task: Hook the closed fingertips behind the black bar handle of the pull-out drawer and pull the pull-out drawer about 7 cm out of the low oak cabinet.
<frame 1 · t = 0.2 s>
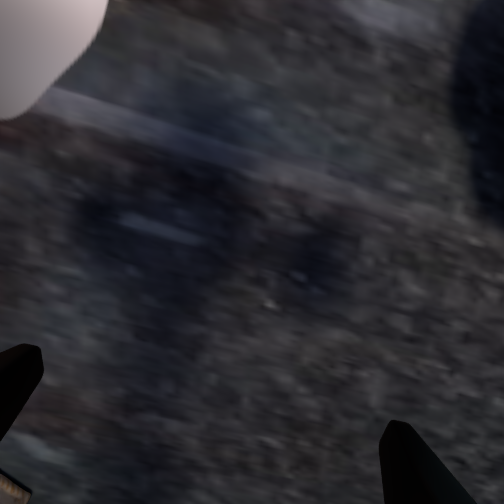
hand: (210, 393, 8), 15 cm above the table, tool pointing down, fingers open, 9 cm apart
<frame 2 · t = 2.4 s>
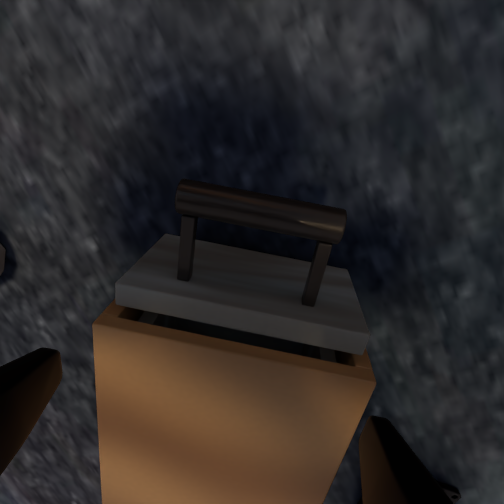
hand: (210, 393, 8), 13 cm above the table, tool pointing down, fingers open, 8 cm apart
pull-out drawer: (237, 340, 19), point 4 cm above the table, slide at 0.5 cm
cabinet: (236, 352, 24), on the table
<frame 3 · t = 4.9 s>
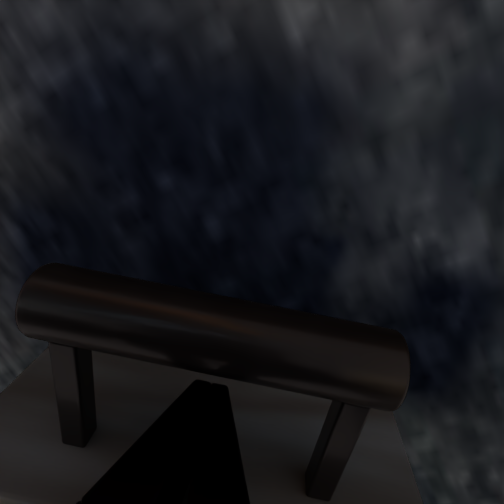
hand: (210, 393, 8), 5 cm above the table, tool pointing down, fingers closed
pull-out drawer: (198, 493, 11), point 4 cm above the table, slide at 0.5 cm
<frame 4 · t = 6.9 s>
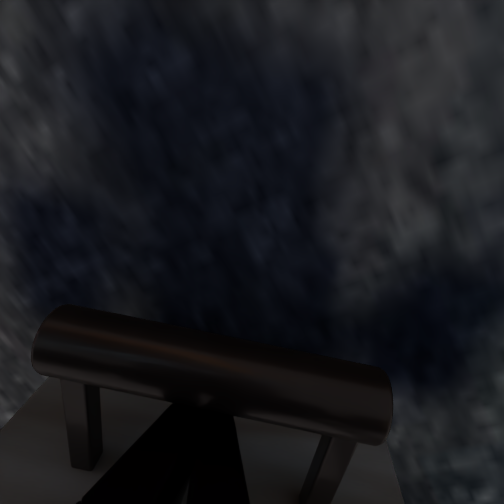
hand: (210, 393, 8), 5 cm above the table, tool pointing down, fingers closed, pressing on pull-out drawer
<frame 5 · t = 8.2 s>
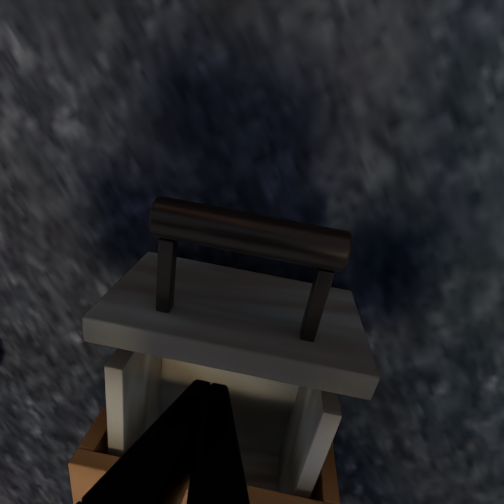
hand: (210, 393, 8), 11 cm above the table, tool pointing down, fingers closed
pull-out drawer: (228, 371, 17), point 4 cm above the table, slide at 6.5 cm
cabinet: (220, 434, 25), on the table
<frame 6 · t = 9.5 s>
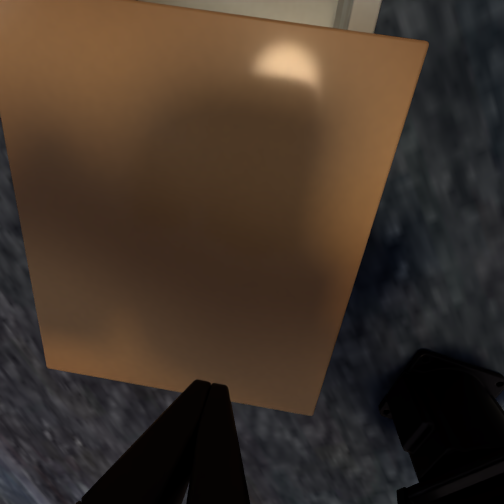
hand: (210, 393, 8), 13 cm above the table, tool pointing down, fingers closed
cabinet: (224, 194, 19), on the table
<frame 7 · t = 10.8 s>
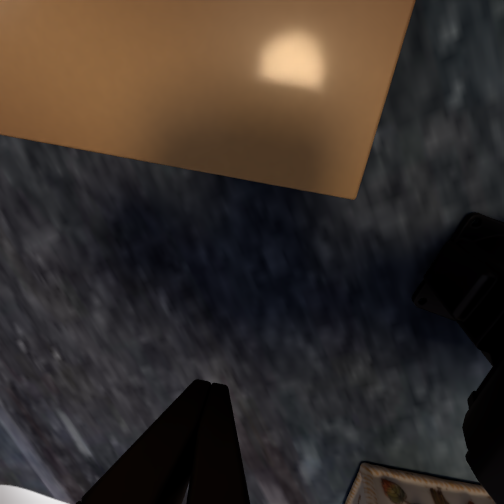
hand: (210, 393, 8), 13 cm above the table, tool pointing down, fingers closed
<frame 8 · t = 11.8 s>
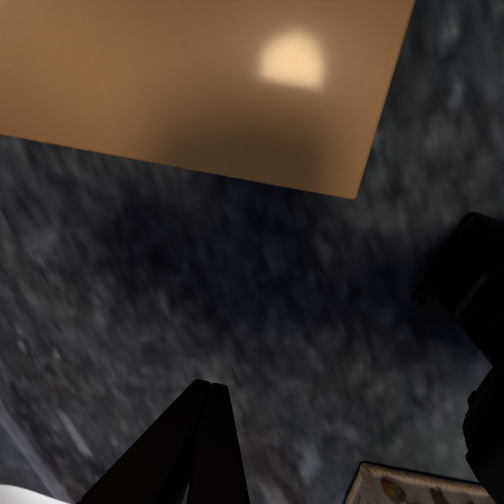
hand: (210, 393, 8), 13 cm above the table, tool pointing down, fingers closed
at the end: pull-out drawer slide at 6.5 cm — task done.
